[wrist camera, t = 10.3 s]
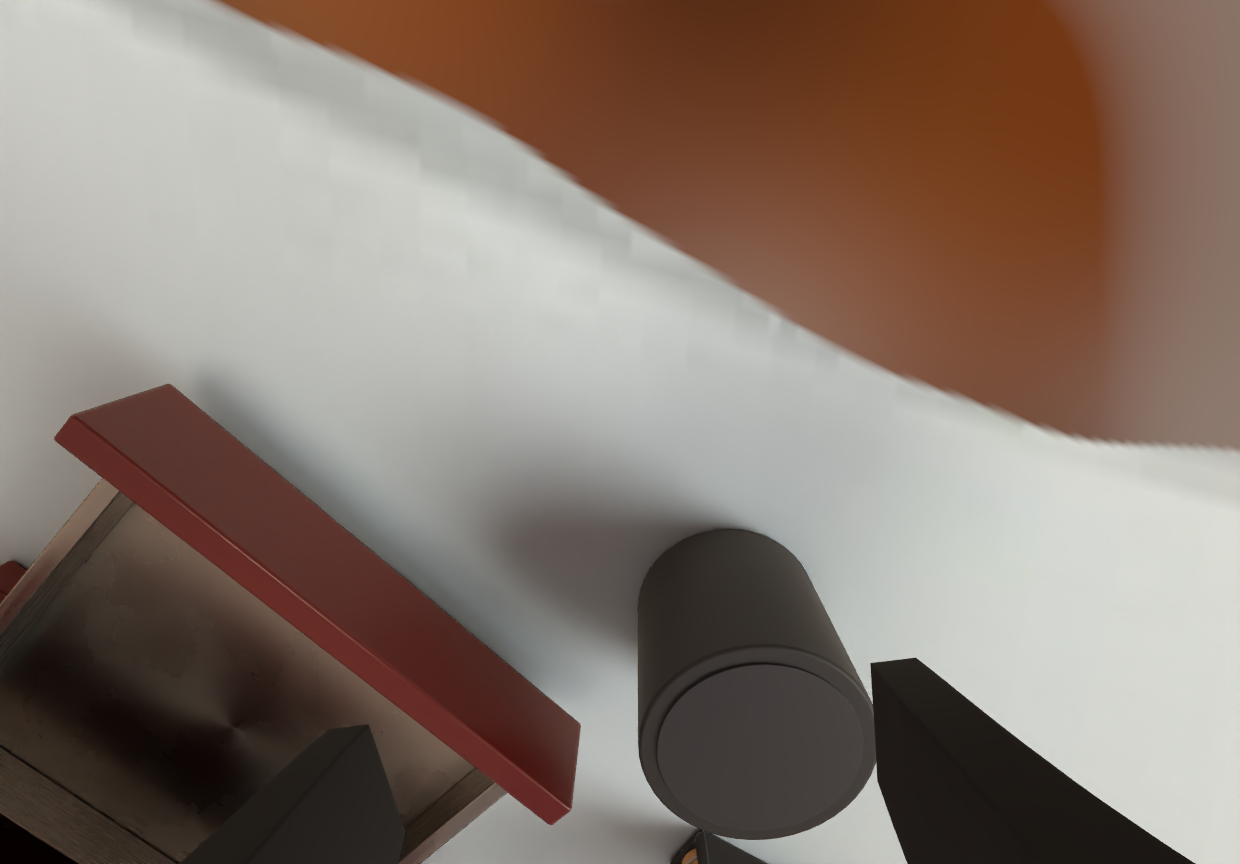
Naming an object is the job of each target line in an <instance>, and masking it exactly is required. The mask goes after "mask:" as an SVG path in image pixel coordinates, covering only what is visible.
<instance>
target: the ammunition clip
mask: <svg viewBox="0 0 1240 864" xmlns="http://www.w3.org/2000/svg"><path fill="white" fill-rule="evenodd" d="M670 864H766V863H764V862H762V861H760V860H758V859H757V858H755V857H753V856H751V855H749V854H747V853H745V852H744V851H742V850H740V849H738V848H736V847H734V846H732V845H731V844H729V843H727V842H725V841H723V840H721V839H719V838H718V837H716V836H714V835H712V834H710V833H708V832H706V831H702V832H700V833H697V834H696V835H695V836H694V837H693V838H692V840H691V841H690V842H689V843H688V844H687V845H686V846H685V847H684V848H683V849H682V851H681V852H680V853H679V854H678V855H677V856H676V857H675V858H674V859H673V861H672V862H671V863H670Z"/></svg>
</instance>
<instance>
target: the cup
mask: <svg viewBox="0 0 1240 864" xmlns="http://www.w3.org/2000/svg"><path fill="white" fill-rule="evenodd" d="M638 747H639V758H640V762H641V766H642V770H643V772H644V775H645V777H646V780H647V782H648V783H649V785H650V787H651V788H652V790H653V792H654V793H655V795H656V796H657V797H658V798H659V799H660V801H661V802H662V803H663V804H664V805H665V806H666V807H667V808H668V809H669V810H670V811H671V812H672V813H674V814H675V815H677V816H678V817H679V818H681V819H682V820H684V821H686V822H687V823H689V824H691V825H693V826H695V827H697V828H699V829H702V830H704V831H706V832H709V833H713V834H716V835H720V836H724V837H729V838H735V839H747V840H763V839H773V838H781V837H785V836H790V835H794V834H797V833H800V832H803V831H806V830H809V829H811V828H813V827H815V826H818V825H820V824H822V823H824V822H825V821H827V820H829V819H830V818H832V817H834V816H835V815H836V814H838V813H839V812H840V811H842V810H843V809H844V808H846V807H847V806H848V805H849V804H850V803H851V802H852V801H853V800H854V799H855V798H856V797H857V795H858V794H859V793H860V791H861V790H862V789H863V788H864V786H865V784H866V783H867V781H868V779H869V778H870V776H871V774H872V771H873V769H874V766H875V764H876V745H875V729H874V712H873V704H872V702H871V700H870V698H869V696H868V694H867V692H866V690H865V688H864V686H863V684H862V682H861V680H860V678H859V676H858V674H857V672H856V670H855V668H854V666H853V664H852V662H851V660H850V658H849V656H848V654H847V652H846V650H845V648H844V646H843V644H842V642H841V640H840V638H839V636H838V634H837V632H836V630H835V628H834V626H833V624H832V622H831V620H830V618H829V616H828V614H827V612H826V610H825V608H824V606H823V604H822V602H821V600H820V598H819V596H818V594H817V592H816V590H815V588H814V586H813V584H812V582H811V581H810V579H809V577H808V575H807V573H806V571H805V569H804V568H803V566H802V565H801V563H800V562H799V561H798V560H797V558H796V557H795V556H794V555H793V554H792V553H791V552H790V551H788V550H787V549H786V548H785V547H783V546H782V545H780V544H779V543H777V542H776V541H774V540H772V539H770V538H767V537H765V536H762V535H759V534H756V533H753V532H748V531H743V530H731V529H728V530H715V531H709V532H704V533H701V534H697V535H694V536H692V537H690V538H687V539H685V540H683V541H681V542H679V543H678V544H676V545H674V546H673V547H672V548H670V549H669V550H668V551H666V552H665V553H664V554H663V555H662V556H661V557H660V558H659V559H658V560H657V561H656V562H655V564H654V565H653V566H652V567H651V569H650V570H649V572H648V574H647V575H646V577H645V579H644V582H643V584H642V587H641V590H640V594H639V598H638Z"/></svg>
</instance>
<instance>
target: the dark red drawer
mask: <svg viewBox="0 0 1240 864" xmlns="http://www.w3.org/2000/svg"><path fill="white" fill-rule="evenodd" d="M54 440H55V441H56V442H57V443H58V444H60V445H61V446H62V447H64V448H65V449H66V450H67V451H69V452H70V453H71V454H73V455H74V456H75V457H76V458H78V459H79V460H80V461H82V462H83V463H84V464H85V465H87V466H88V467H89V468H91V469H92V470H93V471H94V472H96V473H97V474H98V475H100V476H101V477H102V479H101V480H100V482H99V483H98V484H97V485H96V487H95V488H94V489H93V490H92V491H91V493H90V494H89V495H88V496H87V498H86V499H85V500H84V501H83V503H82V504H81V505H80V506H79V508H78V509H77V510H76V511H75V512H74V514H73V515H72V516H71V517H70V519H69V520H68V521H67V522H66V524H65V525H64V526H63V527H62V528H61V530H60V531H59V532H58V533H57V535H56V536H55V537H54V538H53V540H52V541H51V542H50V543H49V545H48V546H47V547H46V548H45V549H44V551H43V552H42V553H41V554H40V556H39V557H38V558H37V559H36V561H35V562H34V563H33V564H32V565H31V567H30V568H29V569H28V570H27V572H26V573H25V574H24V575H23V577H22V578H21V579H20V580H19V582H18V583H17V584H16V585H15V586H14V588H13V589H12V590H11V591H10V593H9V594H8V595H7V596H6V598H5V599H4V600H3V601H2V602H1V604H0V828H2V829H3V830H5V831H7V832H8V833H10V834H11V835H13V836H14V837H16V838H18V839H19V840H21V841H22V842H24V843H25V844H27V845H29V846H30V847H32V848H33V849H35V850H37V851H38V852H40V853H41V854H43V855H44V856H46V857H48V858H49V859H51V860H52V861H54V862H56V863H57V864H179V863H180V862H181V861H183V860H184V859H185V858H186V857H187V856H188V855H189V854H190V853H191V852H193V851H194V850H195V849H196V848H197V847H198V846H199V845H200V844H201V843H202V842H204V841H205V840H206V839H207V838H208V837H209V836H210V835H211V834H212V833H213V832H215V831H216V830H217V829H218V828H219V827H220V826H221V825H222V824H223V823H224V822H226V821H227V820H228V819H229V818H230V817H231V816H232V815H233V814H234V813H235V812H237V811H238V810H239V809H240V808H241V807H242V806H243V805H244V804H245V803H246V802H248V801H249V800H250V799H251V798H252V797H253V796H254V795H255V794H256V793H257V792H258V791H260V790H261V789H262V788H263V787H264V786H265V785H266V784H267V783H268V782H269V781H270V780H271V779H273V778H274V777H275V776H276V775H277V774H278V773H279V772H280V771H281V770H282V769H284V768H285V767H286V766H287V765H288V764H289V763H290V762H291V761H292V760H293V759H295V758H296V757H297V756H298V755H299V754H300V753H301V752H302V751H304V750H305V749H306V748H307V747H308V746H309V745H310V744H312V743H313V742H314V741H315V740H316V739H318V738H319V737H320V736H321V735H322V734H324V733H325V732H326V731H327V730H329V729H333V728H342V727H350V726H358V725H366V724H369V726H370V729H371V732H372V735H373V738H374V741H375V744H376V747H377V750H378V753H379V756H380V759H381V762H382V764H383V767H384V770H385V773H386V776H387V779H388V782H389V785H390V788H391V791H392V794H393V797H394V800H395V803H396V806H397V809H398V812H399V815H400V818H401V821H402V824H403V827H404V830H405V836H404V840H403V845H402V849H401V853H400V858H399V862H398V864H420V863H422V862H423V861H424V860H425V859H427V858H428V857H429V856H430V855H431V854H433V853H434V852H435V851H436V850H438V849H439V848H440V847H441V846H442V845H444V844H445V843H446V842H447V841H449V840H450V839H451V838H452V837H454V836H455V835H456V834H457V833H458V832H460V831H461V830H462V829H463V828H465V827H466V826H467V825H468V824H470V823H471V822H472V821H473V820H474V819H476V818H477V817H478V816H479V815H481V814H482V813H483V812H484V811H486V810H487V809H488V808H489V807H490V806H492V805H493V804H494V803H495V802H497V801H498V800H499V799H500V798H502V797H503V796H504V795H505V794H506V793H509V794H510V795H511V796H513V797H514V798H515V799H517V800H518V801H519V802H520V803H522V804H523V805H524V806H526V807H527V808H528V809H529V810H531V811H532V812H533V813H535V814H536V815H537V816H539V817H540V818H541V819H542V820H544V821H545V822H546V823H548V824H549V825H553V824H554V823H556V822H557V821H558V820H559V819H561V818H562V817H563V816H565V815H566V814H567V813H568V812H570V810H571V808H572V800H573V791H574V782H575V773H576V764H577V755H578V746H579V737H580V728H581V725H580V723H579V722H578V721H576V720H575V719H574V718H573V717H572V716H570V715H569V714H568V713H567V712H565V711H564V710H563V709H562V708H561V707H559V706H558V705H557V704H556V703H555V702H553V701H552V700H551V699H550V698H549V697H547V696H546V695H545V694H544V693H543V692H541V691H540V690H539V689H538V688H537V687H535V686H534V685H533V684H532V683H531V682H529V681H528V680H527V679H526V678H524V677H523V676H522V675H521V674H520V673H518V672H517V671H516V670H515V669H514V668H512V667H511V666H510V665H509V664H508V663H506V662H505V661H504V660H503V659H502V658H500V657H499V656H498V655H497V654H496V653H494V652H493V651H492V650H491V649H490V648H488V647H487V646H486V645H485V644H483V643H482V642H481V641H480V640H479V639H477V638H476V637H475V636H474V635H473V634H471V633H470V632H469V631H468V630H467V629H465V628H464V627H463V626H462V625H461V624H459V623H458V622H457V621H456V620H455V619H453V618H452V617H451V616H450V615H449V614H447V613H446V612H445V611H444V610H442V609H441V608H440V607H439V606H438V605H436V604H435V603H434V602H433V601H432V600H430V599H429V598H428V597H427V596H426V595H424V594H423V593H422V592H421V591H420V590H418V589H417V588H416V587H415V586H414V585H412V584H411V583H410V582H409V581H408V580H406V579H405V578H404V577H403V576H401V575H400V574H399V573H398V572H397V571H395V570H394V569H393V568H392V567H391V566H389V565H388V564H387V563H386V562H385V561H383V560H382V559H381V558H380V557H379V556H377V555H376V554H375V553H374V552H373V551H371V550H370V549H369V548H368V547H367V546H365V545H364V544H363V543H362V542H360V541H359V540H358V539H357V538H356V537H354V536H353V535H352V534H351V533H350V532H348V531H347V530H346V529H345V528H344V527H342V526H341V525H340V524H339V523H338V522H336V521H335V520H334V519H333V518H332V517H330V516H329V515H328V514H327V513H326V512H324V511H323V510H322V509H321V508H319V507H318V506H317V505H316V504H315V503H313V502H312V501H311V500H310V499H309V498H307V497H306V496H305V495H304V494H303V493H301V492H300V491H299V490H298V489H297V488H295V487H294V486H293V485H292V484H291V483H289V482H288V481H287V480H286V479H284V478H283V477H282V476H281V475H280V474H278V473H277V472H276V471H275V470H274V469H272V468H271V467H270V466H269V465H268V464H266V463H265V462H264V461H263V460H262V459H260V458H259V457H258V456H257V455H256V454H254V453H253V452H252V451H251V450H250V449H248V448H247V447H246V446H245V445H243V444H242V443H241V442H240V441H239V440H237V439H236V438H235V437H234V436H233V435H231V434H230V433H229V432H228V431H227V430H225V429H224V428H223V427H222V426H221V425H219V424H218V423H217V422H216V421H215V420H213V419H212V418H211V417H210V416H209V415H207V414H206V413H205V412H204V411H202V410H201V409H200V408H199V407H198V406H196V405H195V404H194V403H193V402H192V401H190V400H189V399H188V398H187V397H186V396H184V395H183V394H182V393H181V392H180V391H178V390H177V389H176V388H175V387H174V386H172V385H171V384H166V385H163V386H160V387H156V388H153V389H150V390H147V391H144V392H141V393H138V394H135V395H132V396H129V397H126V398H123V399H119V400H116V401H113V402H110V403H107V404H104V405H101V406H98V407H95V408H92V409H89V410H85V411H82V412H79V413H76V414H73V415H71V416H70V418H69V419H68V420H67V421H66V423H65V424H64V425H63V427H62V428H61V429H60V431H59V432H58V433H57V434H56V436H55V437H54Z"/></svg>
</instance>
